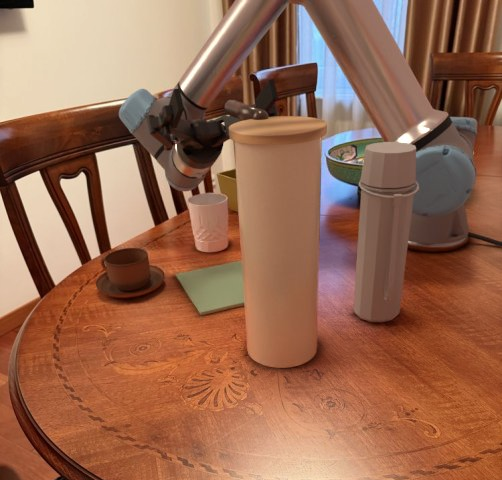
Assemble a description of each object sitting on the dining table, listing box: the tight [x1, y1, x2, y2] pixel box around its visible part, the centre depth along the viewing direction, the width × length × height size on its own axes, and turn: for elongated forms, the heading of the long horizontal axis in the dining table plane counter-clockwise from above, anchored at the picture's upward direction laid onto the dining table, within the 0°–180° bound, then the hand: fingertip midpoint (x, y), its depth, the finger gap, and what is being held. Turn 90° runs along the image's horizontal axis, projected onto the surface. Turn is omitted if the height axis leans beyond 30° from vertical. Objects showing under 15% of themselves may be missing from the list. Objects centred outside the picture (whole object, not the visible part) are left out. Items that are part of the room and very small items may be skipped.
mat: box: [174, 260, 244, 316], centre depth 92 cm, size 16×16×1 cm
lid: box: [224, 99, 328, 145], centre depth 62 cm, size 22×11×2 cm, turn 22°
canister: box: [233, 137, 323, 369], centre depth 66 cm, size 10×10×29 cm
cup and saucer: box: [95, 247, 165, 299], centre depth 91 cm, size 12×12×6 cm
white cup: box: [187, 192, 229, 253], centre depth 105 cm, size 8×8×10 cm
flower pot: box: [216, 167, 238, 213], centre depth 124 cm, size 9×9×9 cm
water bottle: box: [353, 141, 419, 323], centre depth 73 cm, size 9×8×25 cm
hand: (227, 93), depth 70 cm, fingers open, 13 cm apart
